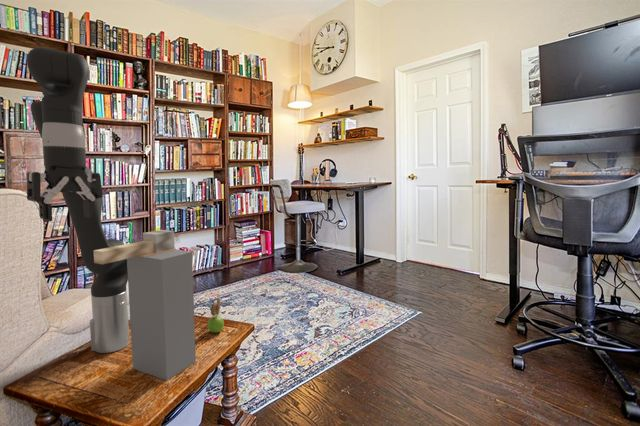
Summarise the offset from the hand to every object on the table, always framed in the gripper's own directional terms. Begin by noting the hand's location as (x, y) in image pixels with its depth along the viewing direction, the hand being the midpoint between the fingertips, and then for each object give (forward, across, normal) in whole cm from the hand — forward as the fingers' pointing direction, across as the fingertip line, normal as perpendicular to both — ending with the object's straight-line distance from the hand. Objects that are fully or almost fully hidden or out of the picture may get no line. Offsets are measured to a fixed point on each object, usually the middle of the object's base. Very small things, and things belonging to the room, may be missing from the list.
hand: (69, 219), depth 77 cm
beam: (+11, +14, -4) cm, 18 cm away
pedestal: (+43, +19, -6) cm, 47 cm away
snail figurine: (+43, +42, -5) cm, 60 cm away
